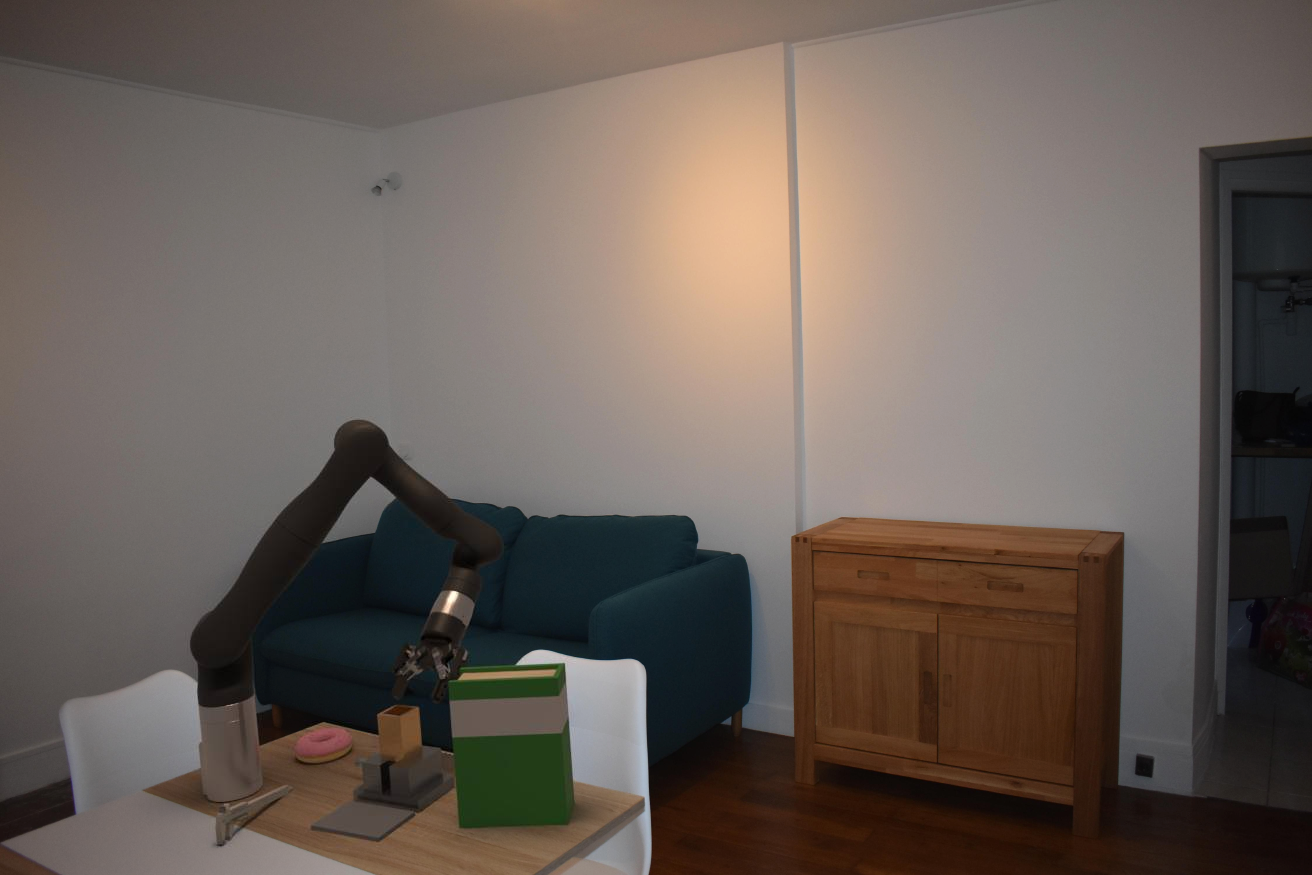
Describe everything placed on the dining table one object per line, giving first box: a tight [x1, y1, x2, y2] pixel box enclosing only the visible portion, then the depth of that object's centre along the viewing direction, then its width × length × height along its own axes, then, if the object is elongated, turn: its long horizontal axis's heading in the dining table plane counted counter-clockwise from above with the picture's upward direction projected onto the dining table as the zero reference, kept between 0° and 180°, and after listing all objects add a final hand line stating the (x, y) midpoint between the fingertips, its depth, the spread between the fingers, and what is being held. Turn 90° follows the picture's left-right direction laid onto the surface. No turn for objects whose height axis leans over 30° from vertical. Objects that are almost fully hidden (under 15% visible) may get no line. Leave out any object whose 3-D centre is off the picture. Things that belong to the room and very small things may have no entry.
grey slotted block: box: [352, 745, 456, 813], centre depth 159 cm, size 17×10×13 cm, turn 67°
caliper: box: [215, 784, 294, 846], centre depth 154 cm, size 20×1×6 cm, turn 171°
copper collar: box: [376, 704, 423, 763], centre depth 159 cm, size 5×5×8 cm
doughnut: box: [293, 727, 353, 764], centre depth 180 cm, size 11×11×4 cm
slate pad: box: [310, 800, 416, 843], centre depth 150 cm, size 14×9×1 cm, turn 67°
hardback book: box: [448, 662, 576, 829], centre depth 148 cm, size 18×7×24 cm, turn 87°
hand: (414, 699), depth 163 cm, fingers open, 8 cm apart
